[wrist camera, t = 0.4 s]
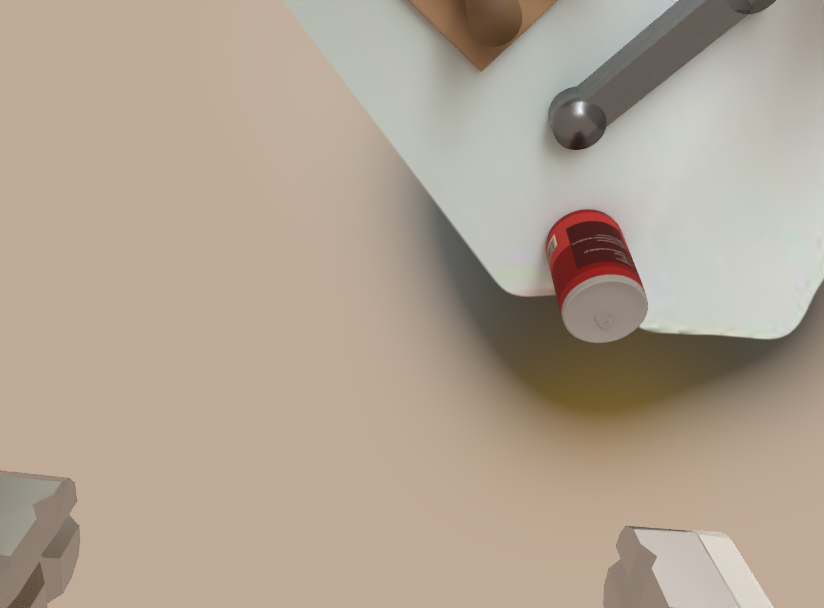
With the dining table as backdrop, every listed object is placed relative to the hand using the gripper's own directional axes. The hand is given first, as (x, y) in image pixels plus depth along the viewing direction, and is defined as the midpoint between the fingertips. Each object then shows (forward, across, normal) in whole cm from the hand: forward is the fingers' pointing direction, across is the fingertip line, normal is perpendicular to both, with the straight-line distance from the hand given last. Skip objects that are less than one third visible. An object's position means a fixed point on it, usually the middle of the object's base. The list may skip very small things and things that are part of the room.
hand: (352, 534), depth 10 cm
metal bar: (+52, -21, -6) cm, 57 cm away
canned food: (+59, -21, +12) cm, 64 cm away
